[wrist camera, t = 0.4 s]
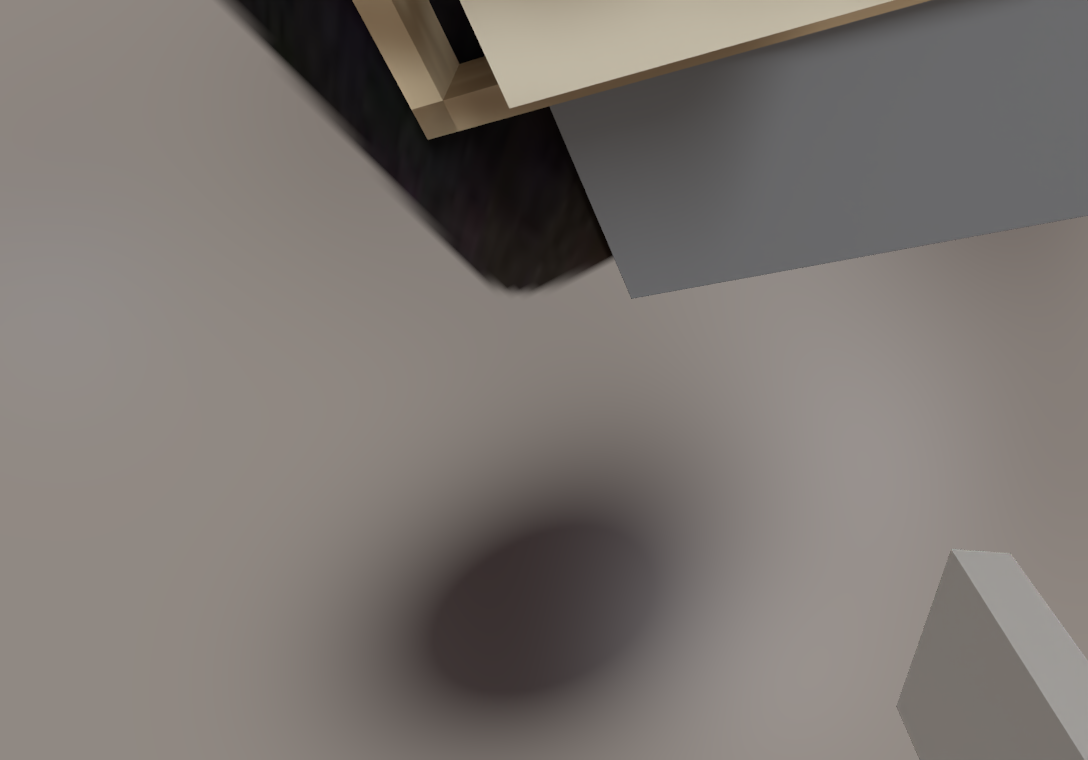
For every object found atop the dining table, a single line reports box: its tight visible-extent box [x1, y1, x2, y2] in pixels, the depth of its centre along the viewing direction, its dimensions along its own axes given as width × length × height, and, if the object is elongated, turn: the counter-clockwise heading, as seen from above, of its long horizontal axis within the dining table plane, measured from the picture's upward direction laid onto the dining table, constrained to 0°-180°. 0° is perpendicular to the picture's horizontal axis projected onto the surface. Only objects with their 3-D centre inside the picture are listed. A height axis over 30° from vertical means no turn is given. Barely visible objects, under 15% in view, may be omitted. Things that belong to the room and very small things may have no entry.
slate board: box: [549, 0, 1088, 299], centre depth 39 cm, size 12×21×1 cm, turn 112°
